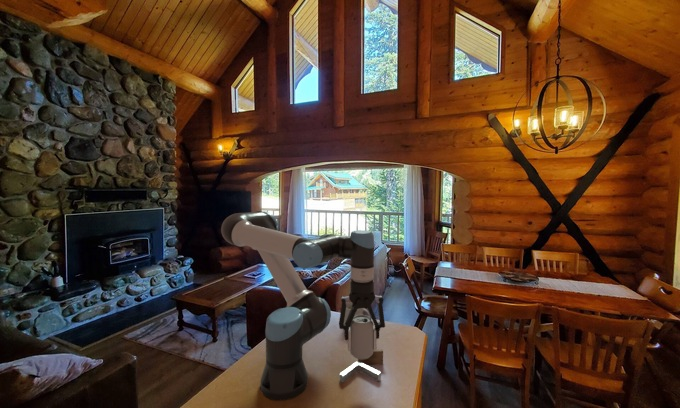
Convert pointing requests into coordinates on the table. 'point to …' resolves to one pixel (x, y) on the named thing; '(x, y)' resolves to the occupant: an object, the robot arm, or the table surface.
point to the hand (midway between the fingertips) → (361, 348)
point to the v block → (362, 369)
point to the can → (361, 337)
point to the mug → (358, 312)
